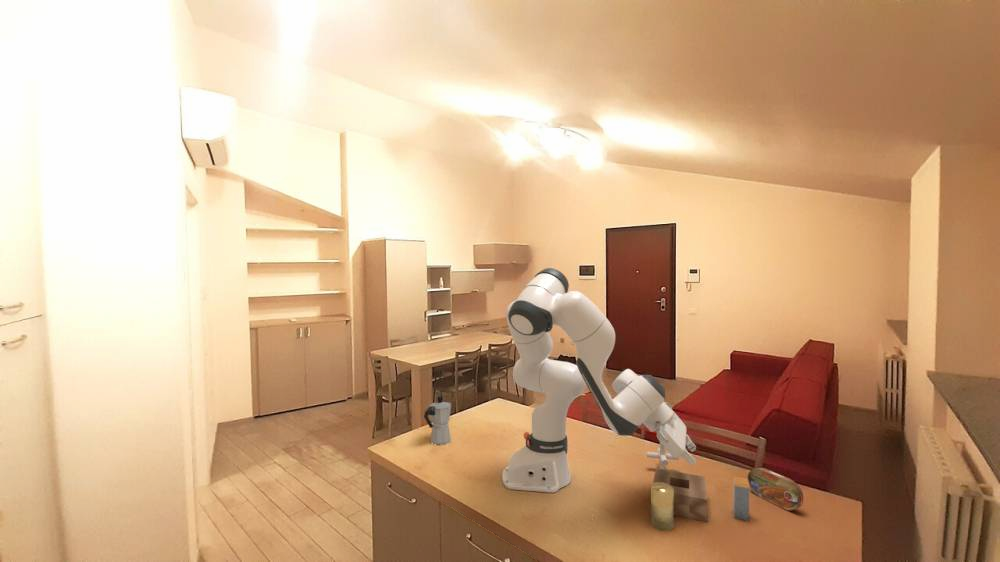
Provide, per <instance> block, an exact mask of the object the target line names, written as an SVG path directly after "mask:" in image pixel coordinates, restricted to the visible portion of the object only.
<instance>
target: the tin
mask: <svg viewBox="0 0 1000 562" xmlns="http://www.w3.org/2000/svg"><path fill="white" fill-rule="evenodd" d="M747 479H748V481H749V489H751V491H752V492H753V493H754V494H755V496H757V497H759V498H760V499H762V500H765V501H766V502H769V503H771V504H773V505H774V506H777V507H779V508H781V509H783V510H786V511H795V510H796V509H799V508H801V507H802V506H803V504H804V493H803V491H802V488H801V487H800V486H799V484H798V483H797V482H795V481H794V480H793V479H791V478H789V477H786V476H784V475H781V474H779V473H777V472H774V471H772V470H770V469H767V468H765V467H758V468H753V469H750V471H749V472H748V473H747Z"/></svg>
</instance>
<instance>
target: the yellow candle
mask: <svg viewBox="0 0 1000 562" xmlns="http://www.w3.org/2000/svg"><path fill="white" fill-rule="evenodd" d="M650 488H651V489H650V491H651V492H650V498H651V499H650V500H651V501H650V516H651V517H650V518H651V519H650V520H651V521H650V523H651V525H652V527H654V528H655V529H657V530H660V531H671V530H673V529H674V528H675V527H674V526H675V523H674V516H675V515H674V488H673V487H672V486H671V485H669V484H667V483H663V482H655V483H651V486H650Z"/></svg>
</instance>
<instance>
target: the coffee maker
mask: <svg viewBox="0 0 1000 562" xmlns="http://www.w3.org/2000/svg"><path fill="white" fill-rule="evenodd" d="M443 398H444V396H443V395H438V396H437V398H436V399H437V402H432V403H431V404H430V405H428V408H427V409H425V411H424V415H423V417H424V419H425V421H426V423H427V425H428V426H429V428H430V429H431V433H430V440H431V443H433V444H432V445H434V444H436V445H435V446H438V445H437V444H446V443H448V442H450V441H451V442H452V439H451V432H450V425H449V421H450V419H451V410H452V402H447V401H446V402H445V401H443V400H444V399H443ZM429 416H430V418H429ZM451 442H450V443H451ZM431 443H430V444H431ZM448 444H449V443H448ZM446 445H447V444H446Z"/></svg>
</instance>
